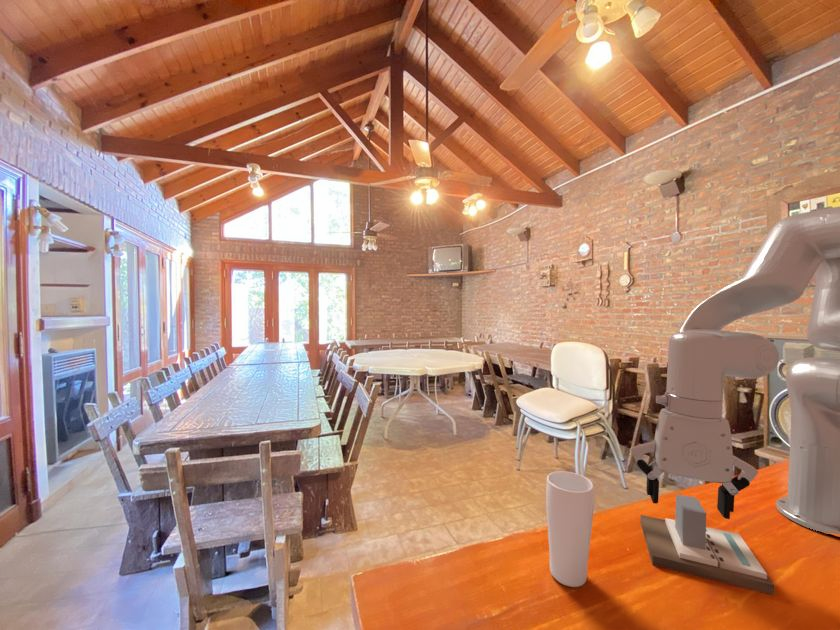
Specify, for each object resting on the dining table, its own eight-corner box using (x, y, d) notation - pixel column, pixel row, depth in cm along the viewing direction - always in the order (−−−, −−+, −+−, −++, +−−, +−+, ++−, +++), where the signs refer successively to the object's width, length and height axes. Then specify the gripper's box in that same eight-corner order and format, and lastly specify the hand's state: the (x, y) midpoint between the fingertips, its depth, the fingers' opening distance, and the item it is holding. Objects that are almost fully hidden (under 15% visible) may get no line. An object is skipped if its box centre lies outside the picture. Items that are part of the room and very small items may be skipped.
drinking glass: (570, 556, 60) (572, 467, 59) (602, 587, 53) (604, 488, 53) (535, 565, 58) (537, 473, 57) (564, 598, 51) (566, 496, 51)
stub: (665, 522, 66) (666, 486, 66) (697, 529, 64) (698, 492, 64) (679, 557, 57) (680, 516, 57) (717, 566, 55) (719, 524, 55)
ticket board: (640, 522, 69) (640, 510, 69) (739, 543, 63) (740, 530, 63) (652, 564, 58) (652, 550, 58) (774, 595, 52) (775, 579, 52)
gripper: (636, 404, 60) (631, 505, 60) (771, 421, 53) (764, 534, 54) (630, 394, 67) (625, 485, 67) (749, 407, 60) (743, 508, 60)
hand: (687, 506), depth 60 cm, fingers open, 9 cm apart
